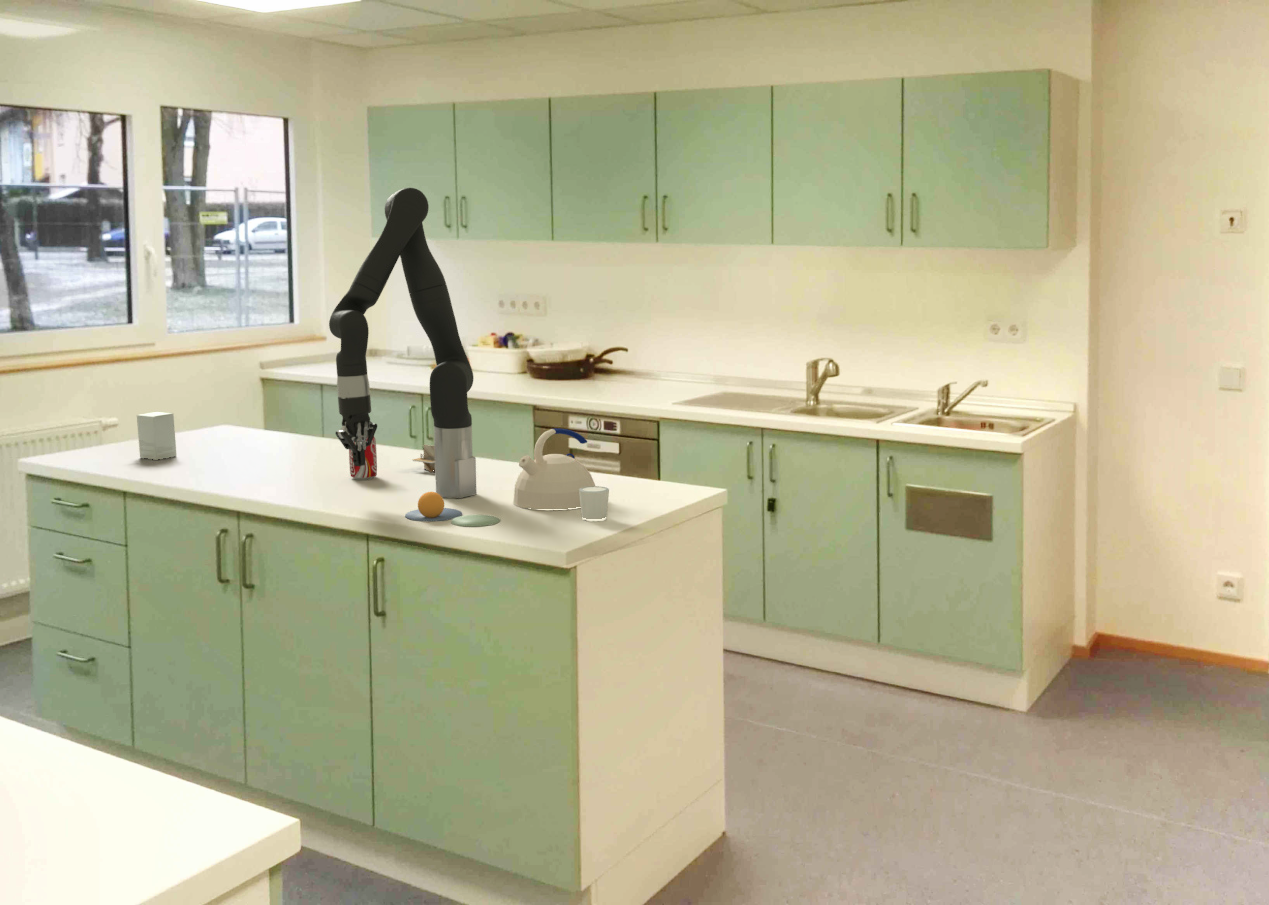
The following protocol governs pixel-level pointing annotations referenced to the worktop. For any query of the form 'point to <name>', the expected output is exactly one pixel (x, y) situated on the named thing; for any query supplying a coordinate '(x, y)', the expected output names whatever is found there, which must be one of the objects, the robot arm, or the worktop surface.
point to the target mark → (445, 515)
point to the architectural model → (428, 457)
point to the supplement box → (156, 435)
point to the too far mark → (475, 520)
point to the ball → (431, 504)
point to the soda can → (370, 465)
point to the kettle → (551, 477)
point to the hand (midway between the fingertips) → (359, 465)
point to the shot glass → (594, 502)
